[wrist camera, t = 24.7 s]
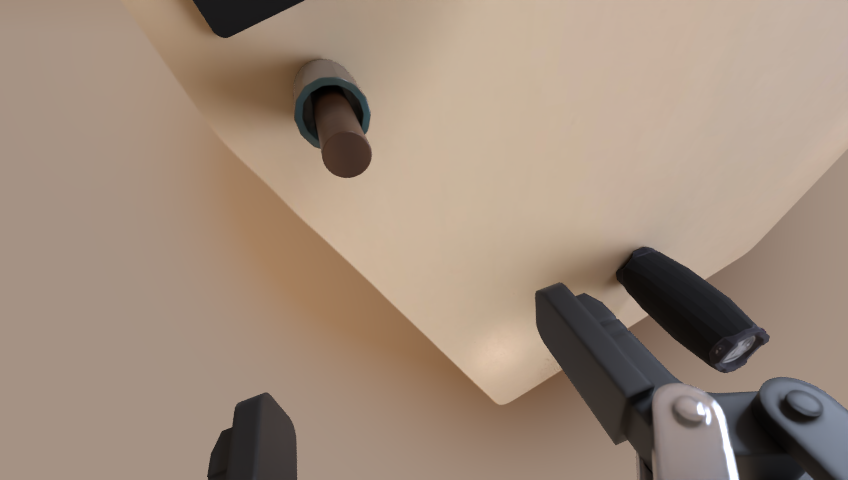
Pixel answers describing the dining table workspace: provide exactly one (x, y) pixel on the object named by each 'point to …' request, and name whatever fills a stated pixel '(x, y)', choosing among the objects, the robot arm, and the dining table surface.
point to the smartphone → (239, 13)
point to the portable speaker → (691, 310)
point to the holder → (314, 78)
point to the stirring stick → (339, 133)
